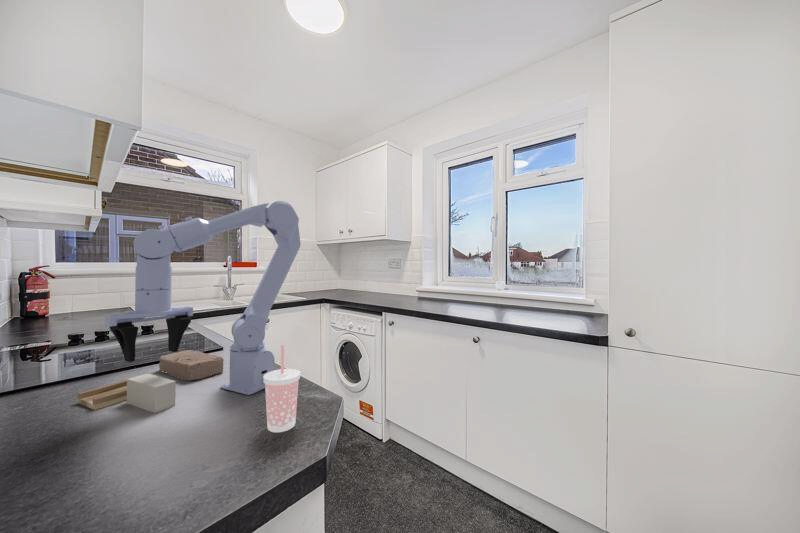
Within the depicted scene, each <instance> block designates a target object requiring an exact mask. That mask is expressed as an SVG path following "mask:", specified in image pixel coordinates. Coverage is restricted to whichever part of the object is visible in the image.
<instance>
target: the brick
mask: <svg viewBox="0 0 800 533" xmlns="http://www.w3.org/2000/svg"><path fill="white" fill-rule="evenodd" d="M224 360H225V359H224V357H223V356H221V355H218V354H217V355H216V354H209V353H207V352H206V353H205V352H202V351H199V350H194V349H193V350H191V349H187V350H181V351H177V352H172V353H169V354H165V355H161V356H160V357H159V364H158V368H159V372H161V371H163V372H167V373H168V375H169V374H171V375H170V376H172V375H173V376H172V377H174V376H176V377H175V378H178V377H179V378H178V379H180V378H182V379H181V380H183V379H185V380H184V381H189V382H190V381H196V380H201V379H204V378H207V377H213V376H215V375H218V373H219V374H221V372H222V373H223V372H224ZM163 372H162V373H163ZM167 373H166V374H167ZM214 374H215V375H214ZM212 375H213V376H212Z"/></svg>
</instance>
